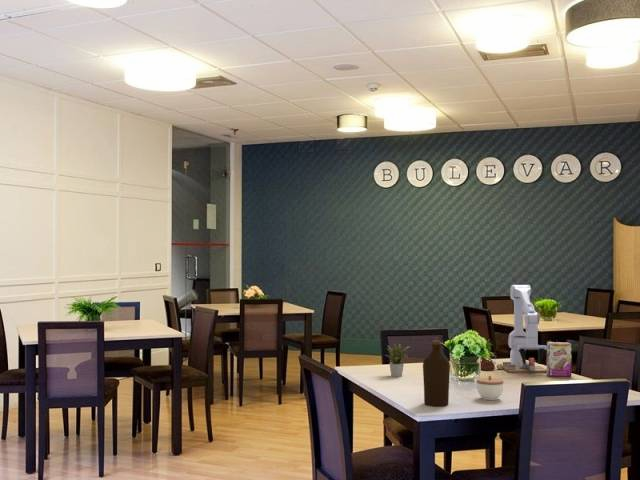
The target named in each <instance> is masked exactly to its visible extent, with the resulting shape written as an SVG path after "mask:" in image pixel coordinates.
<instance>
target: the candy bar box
mask: <svg viewBox="0 0 640 480" xmlns="http://www.w3.org/2000/svg"><path fill="white" fill-rule="evenodd" d="M546 346H547V350H546V369H547V373H546V375H547V376H548V377H563V378H565V377H567V378H571V377H572V365H573V364H572V362H573V361H572V356H573V355H572V354H573V353H572V351H573V349H572V347H573V345H572V343H570V342H560V341H559V342H557V341H556V342H555V341H554V342H553V341H547V342H546Z"/></svg>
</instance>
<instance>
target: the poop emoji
mask: <svg viewBox="0 0 640 480" xmlns="http://www.w3.org/2000/svg"><path fill="white" fill-rule="evenodd" d="M496 363H497V361H496V360H495V359H493V358H492V360H491V361H489V360H486V359H482V361H481V369H480V370H481V371H483V372H484V371H485V372H486V371H487V372H488V371H489V372H493V371H494V370H495V369H496V366H495V365H496Z"/></svg>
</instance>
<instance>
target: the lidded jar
mask: <svg viewBox="0 0 640 480" xmlns="http://www.w3.org/2000/svg"><path fill="white" fill-rule="evenodd" d="M476 389H477V393H478V395H479V396H480V397H481V399H482V400H485V401H497V400H498V399H499V398H500V397H501V395H502V393H503V390H504V380H503V379H501V378H496V377H492V376H491V375H488V377H478V378H477V379H476Z"/></svg>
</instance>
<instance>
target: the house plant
mask: <svg viewBox="0 0 640 480" xmlns="http://www.w3.org/2000/svg"><path fill="white" fill-rule="evenodd" d="M386 346H387V347H388V348H386V347H385V349H387V351H388V352H389V354H390V355H388V354H386V355H384V356H385V357H388V358H389V359H390V360H391V361H390V362H389V370H390V376H391V377H395V378H399V377H403V372H404V365H405V363H404V362H402V360H403V359H404V358H407V353H406V354H404V352H408V349H409V348H411V346H406V347H405V348H403V349H402V350H401V348H402V347H401V346H402V345H401V343H399V344H398V347H397V345H396V343H395V342H394V347H390V345H386Z"/></svg>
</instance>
